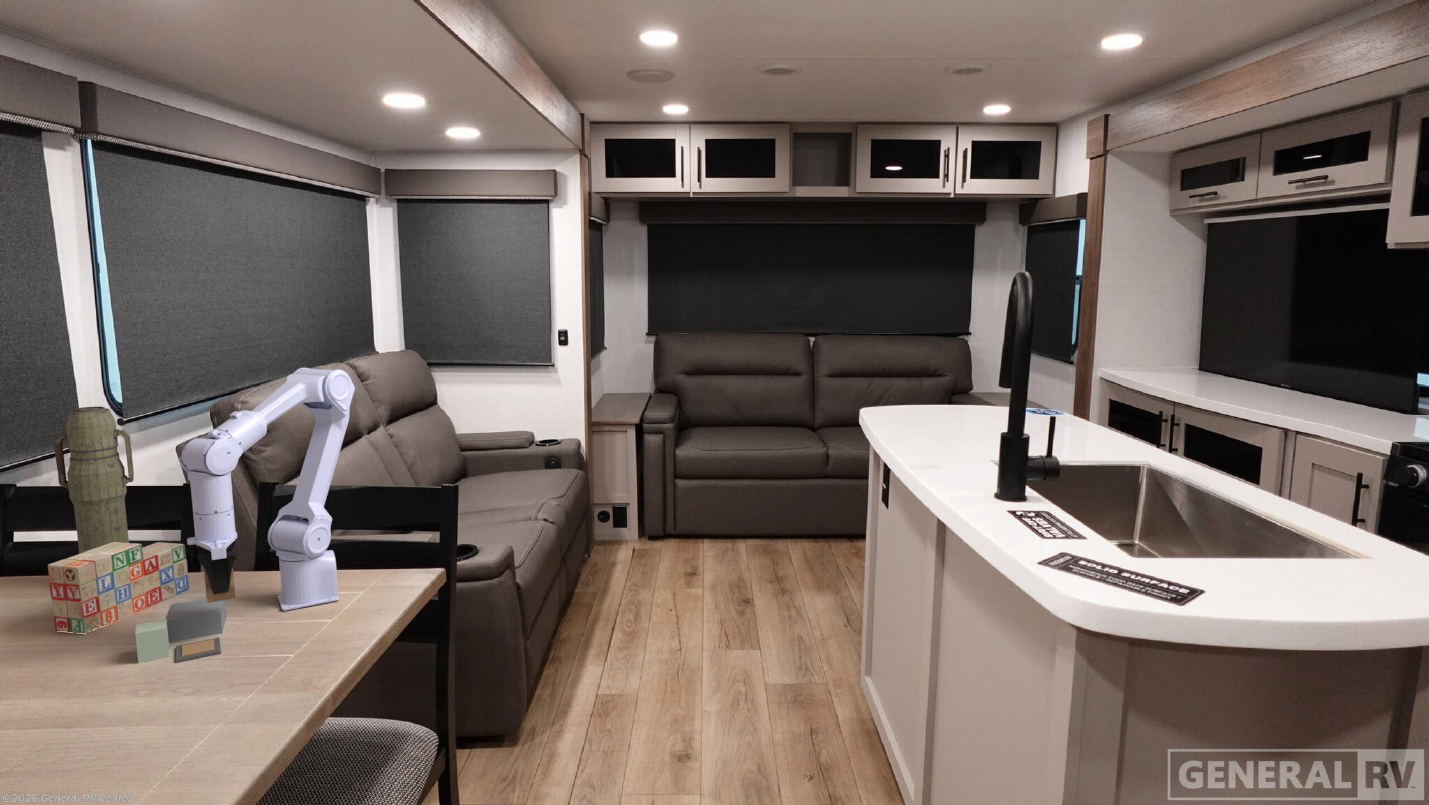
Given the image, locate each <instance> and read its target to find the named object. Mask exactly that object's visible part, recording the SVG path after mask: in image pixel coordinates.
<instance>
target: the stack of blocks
mask: <svg viewBox="0 0 1429 805" xmlns="http://www.w3.org/2000/svg"><path fill="white" fill-rule="evenodd" d="M186 555H187V554H186V547H185V544H184V543H173V542H171V543H170V542H161V541H158V542H155V543H152V544H149V545H146V546H143V544H141V543H134V542H133V543H132V542H131V543H130V542H129V543H120V542H112V543H109V544H106V545H103V546H100V547H98V548H95V549H92V550H89V551H86V552H84V553H81V554H79V553H78V554H75V555H73V556H69V557H67V558H64V559H61V560H58V561H55V562H52V563H48V565H47V570H48V577H49V582H48V585H49V591H50V592H49V593H50V599H51V604H52V611H53V619H54V620H53V621H54V629H55V632H56V631H67V632H73V633H88V632H89V631H92V630H93V629H95V628H99V627H100V626H104V625H107V624H110V623H111V622H115V621H117V620H119V619H121V620H124V619H125V618H124V617H126V618H128V617H130V616H132V614H133V613H134V612H137V613H139V612H141V611H143V610H145V609H147V608H149V607H151V605H152V606H153V605H156V604H158V603H161V602H163V601H166V600H167V599H170V598H172V597H174V596H177V595H179V594H181V593H183V592H185V591H189V589H190V583H189V574H188V573H189V572H188V561H187V557H186ZM160 601H161V602H160ZM140 610H141V611H140ZM134 614H135V613H134ZM134 614H133V615H134ZM129 615H130V616H129ZM127 616H128V617H127ZM123 618H124V619H123ZM119 621H120V620H119ZM117 622H118V621H117ZM115 623H116V622H115ZM110 625H111V624H110Z"/></svg>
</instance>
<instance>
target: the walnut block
mask: <svg viewBox="0 0 1429 805" xmlns="http://www.w3.org/2000/svg"><path fill="white" fill-rule="evenodd" d="M203 574H204V585H205V596H206V599H207V603H212V602H217V601H222V600H225V601H227V600H232V599H236V590H235V589H236V587H235V586H236V585H235V577H234V575H235V574H234V568H232V572H231V580H230V587H229V591H228V592H226V593H220V594H214V593H213V591H212V588H211V585H210V582H209V578H208V575H207V573H206V571H205V569H204V568H203Z"/></svg>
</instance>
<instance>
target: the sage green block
mask: <svg viewBox="0 0 1429 805" xmlns="http://www.w3.org/2000/svg"><path fill="white" fill-rule="evenodd" d="M134 634H135V635H134V636H135V644H136V654H137V663H138V664H143V663H147V662H151V661H157V660H162V659H166V658H167V659H168V658H170V642H169V640H168V629H167V619H159V620H158V619H157V620H151V621H147V622H143V623H137V624H136V626H135V632H134Z"/></svg>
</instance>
